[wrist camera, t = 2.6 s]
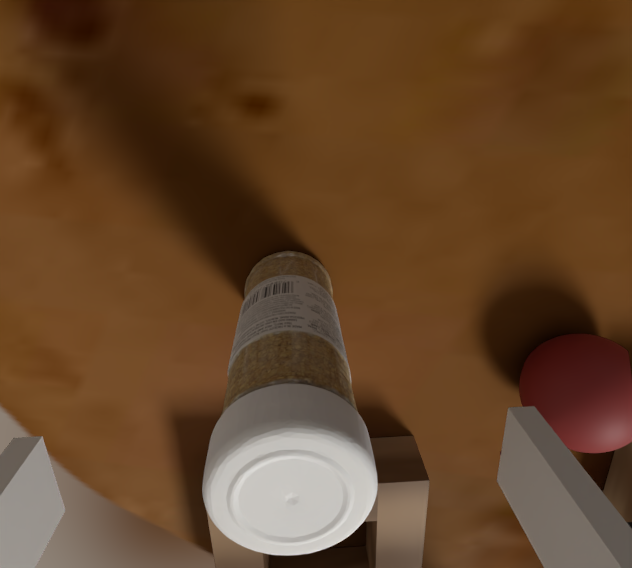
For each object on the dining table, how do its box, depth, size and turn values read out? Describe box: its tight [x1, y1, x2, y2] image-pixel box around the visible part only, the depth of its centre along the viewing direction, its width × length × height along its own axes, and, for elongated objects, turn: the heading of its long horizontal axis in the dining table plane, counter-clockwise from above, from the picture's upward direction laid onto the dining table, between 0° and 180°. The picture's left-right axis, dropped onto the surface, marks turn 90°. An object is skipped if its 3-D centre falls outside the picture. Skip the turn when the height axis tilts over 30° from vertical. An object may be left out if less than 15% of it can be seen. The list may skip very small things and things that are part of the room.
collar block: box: [206, 436, 429, 568], centre depth 29 cm, size 12×12×4 cm
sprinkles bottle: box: [202, 251, 378, 556], centre depth 18 cm, size 5×5×13 cm
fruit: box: [500, 334, 632, 455], centre depth 24 cm, size 6×6×8 cm
